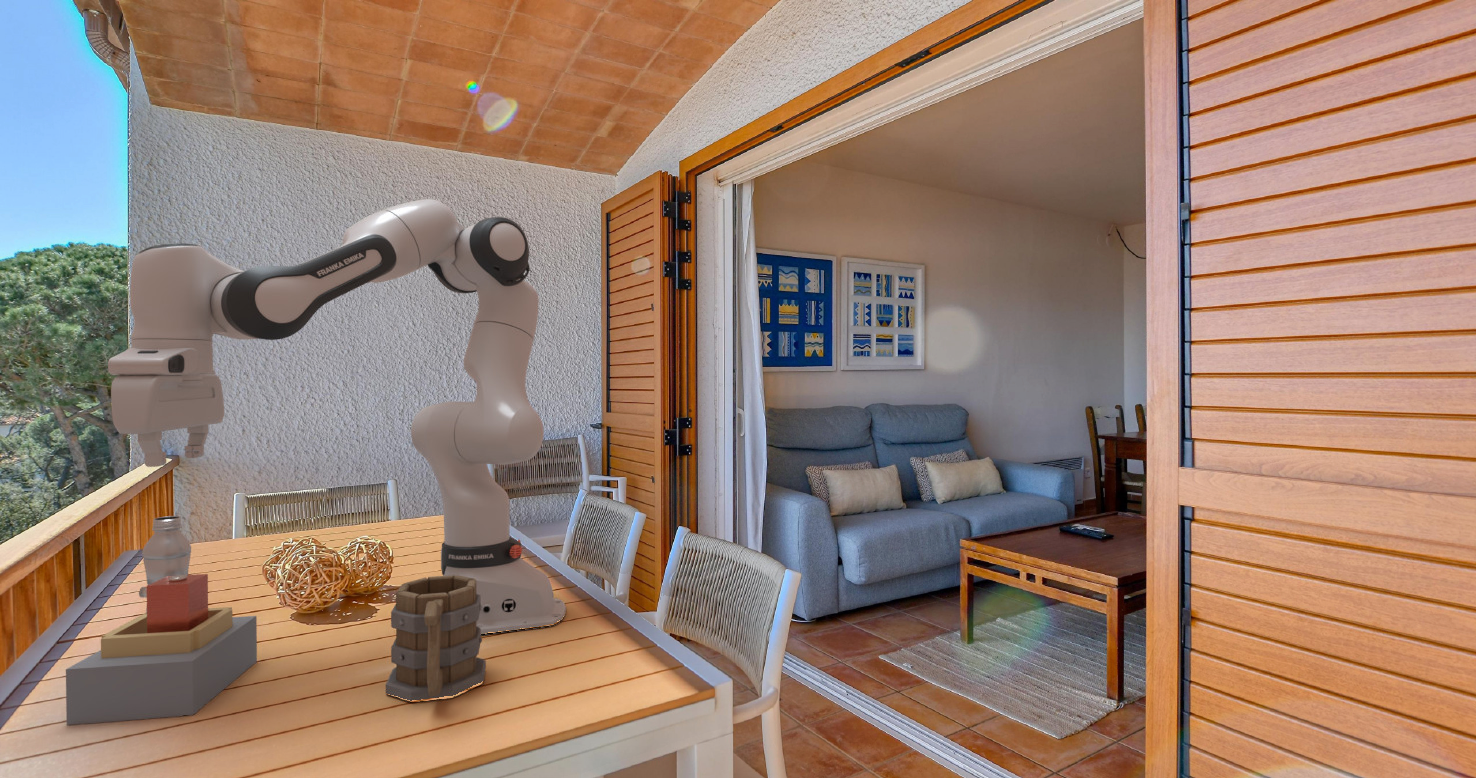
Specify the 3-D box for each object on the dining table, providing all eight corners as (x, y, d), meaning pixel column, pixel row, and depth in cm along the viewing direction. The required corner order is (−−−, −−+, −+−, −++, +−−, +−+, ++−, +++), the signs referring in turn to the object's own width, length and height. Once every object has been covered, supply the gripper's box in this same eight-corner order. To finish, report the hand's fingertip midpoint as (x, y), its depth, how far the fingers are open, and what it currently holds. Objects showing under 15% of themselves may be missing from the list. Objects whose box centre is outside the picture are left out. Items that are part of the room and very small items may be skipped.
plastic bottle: (166, 646, 117) (165, 522, 117) (132, 643, 119) (130, 520, 118) (203, 632, 124) (202, 515, 123) (170, 629, 125) (169, 513, 125)
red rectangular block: (208, 629, 104) (207, 571, 104) (188, 642, 99) (188, 580, 99) (153, 632, 103) (152, 573, 103) (131, 645, 98) (130, 583, 98)
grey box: (262, 656, 113) (262, 595, 113) (192, 714, 93) (192, 641, 93) (160, 663, 110) (159, 600, 110) (66, 724, 91) (65, 649, 91)
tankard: (397, 670, 108) (396, 569, 108) (487, 661, 111) (486, 563, 111) (368, 733, 89) (367, 611, 88) (478, 720, 92) (478, 602, 92)
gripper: (188, 362, 110) (191, 453, 110) (98, 360, 90) (101, 472, 90) (235, 362, 111) (237, 452, 111) (156, 360, 91) (159, 470, 91)
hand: (176, 461), depth 101 cm, fingers open, 8 cm apart
